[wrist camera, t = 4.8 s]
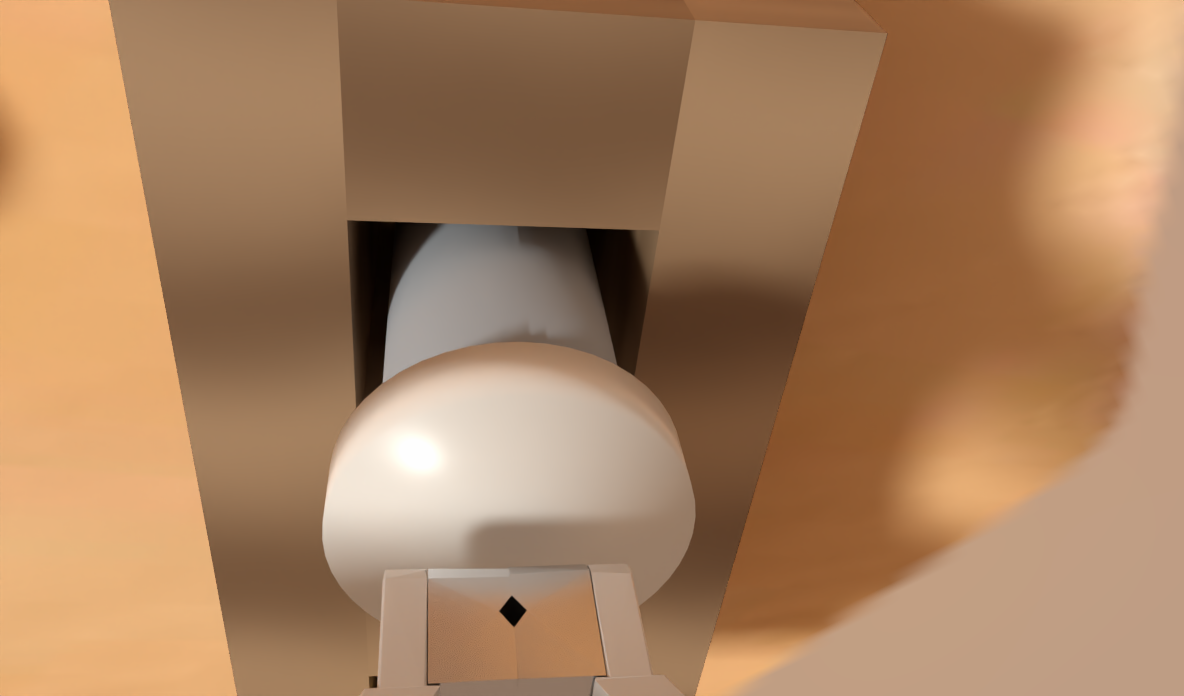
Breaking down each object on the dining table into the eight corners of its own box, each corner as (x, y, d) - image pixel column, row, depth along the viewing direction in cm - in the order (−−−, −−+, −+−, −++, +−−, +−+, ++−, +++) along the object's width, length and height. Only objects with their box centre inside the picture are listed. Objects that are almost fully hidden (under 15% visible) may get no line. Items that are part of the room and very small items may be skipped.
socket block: (613, 598, 33) (653, 837, 26) (303, 607, 31) (268, 864, 25) (745, -109, 20) (887, 33, 13) (222, -156, 18) (104, -21, 12)
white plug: (587, 274, 22) (665, 643, 15) (372, 269, 22) (331, 656, 14) (612, 71, 20) (726, 395, 12) (365, 57, 19) (310, 393, 11)
